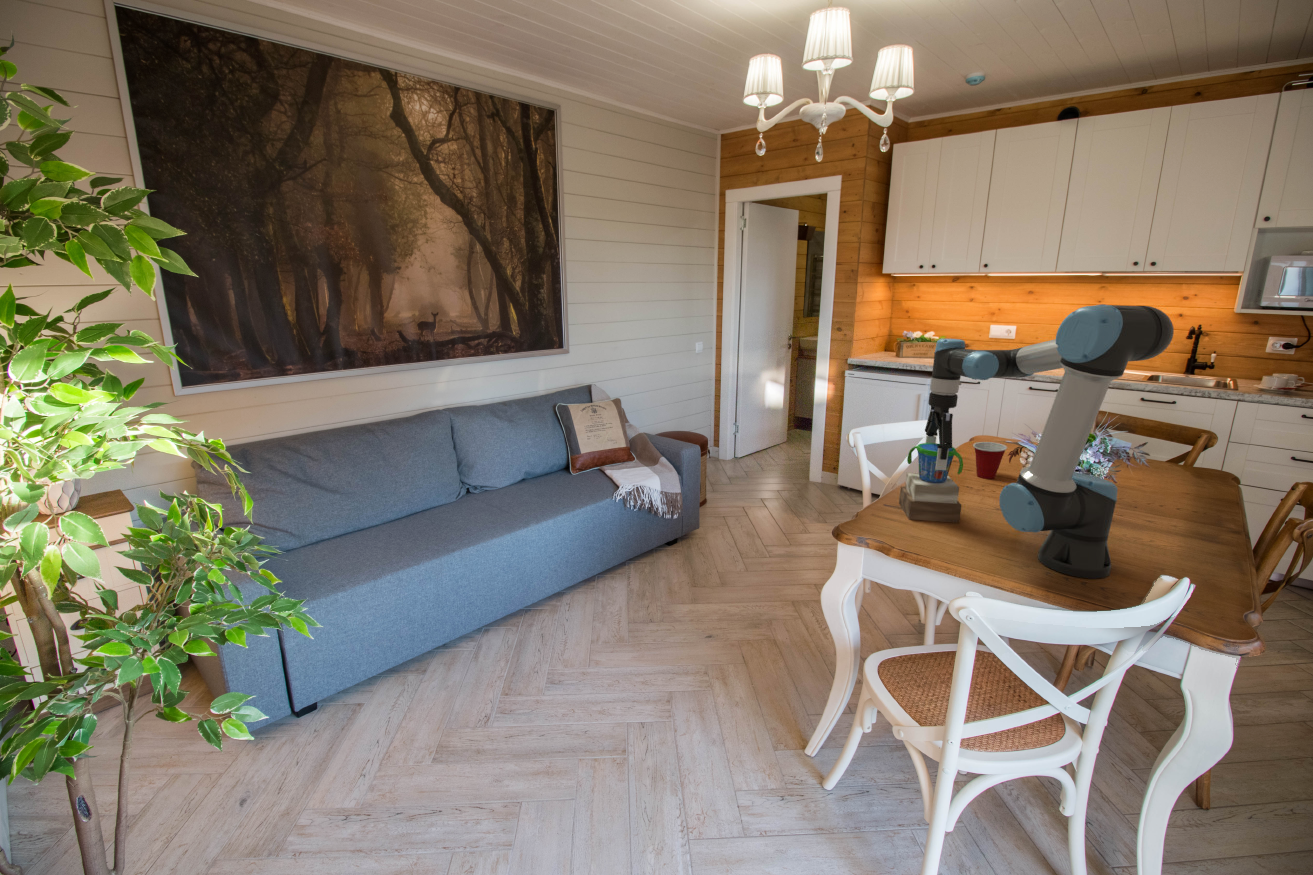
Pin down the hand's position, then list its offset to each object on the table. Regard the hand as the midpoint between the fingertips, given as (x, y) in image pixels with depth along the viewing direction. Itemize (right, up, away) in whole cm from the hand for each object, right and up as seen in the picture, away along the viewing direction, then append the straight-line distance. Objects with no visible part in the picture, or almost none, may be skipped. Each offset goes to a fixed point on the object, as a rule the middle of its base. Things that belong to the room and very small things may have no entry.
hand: (934, 463), depth 185 cm
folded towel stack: (0, -15, +4) cm, 16 cm away
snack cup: (0, -5, +1) cm, 5 cm away
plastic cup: (+36, -7, +40) cm, 55 cm away
